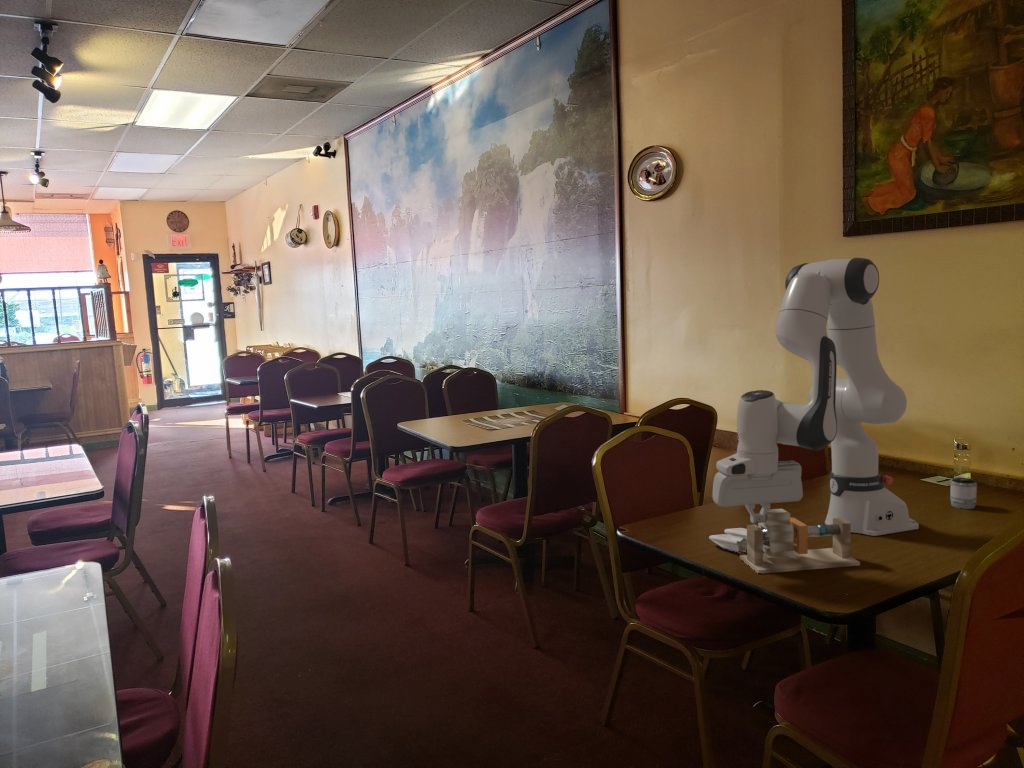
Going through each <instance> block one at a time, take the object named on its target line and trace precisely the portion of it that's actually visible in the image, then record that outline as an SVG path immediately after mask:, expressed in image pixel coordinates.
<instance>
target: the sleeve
mask: <svg viewBox="0 0 1024 768" xmlns="http://www.w3.org/2000/svg"><path fill="white" fill-rule="evenodd" d="M790 518H791V513H790V512H789V511H787V510H786V509H783V508H772V509H771V508H770V509H769V511H768V513H767V514H766V521H765V522H762V523H757V524H758V525H757V526H758V527H760V528H761V529H763V530H765V529H767V530H768V531H770V540H767V541H763V553H766V554H768V555H769V556H770V557H772V558H778V557H790V556H794V539H793V526H792V525H791V524H790Z"/></svg>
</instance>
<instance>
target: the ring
mask: <svg viewBox="0 0 1024 768" xmlns="http://www.w3.org/2000/svg"><path fill="white" fill-rule="evenodd" d="M790 524H791V525H792V526H793V527H794V528H796V529H797V538H793V539H794V551H795V552H797V553H798V554H808V550H809V548H808V546H809V542H808V538H809V537H808V526H809V525H807V524H806V523H803V522H802V521H800V520H798V519H797V518H795V517H790Z"/></svg>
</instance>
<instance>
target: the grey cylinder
mask: <svg viewBox="0 0 1024 768" xmlns="http://www.w3.org/2000/svg"><path fill="white" fill-rule="evenodd" d="M977 491H978V483H977V482H976V481H975V480H974V479H971V478H968V477H955V478H953V479H951V480H950V492H949V493H950V496H949V497H950V505H951V506H952V507H953V506H954V507H953V508H955V507H956V509H960V508H962V510H972V509H975V508H976V505H977Z"/></svg>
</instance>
